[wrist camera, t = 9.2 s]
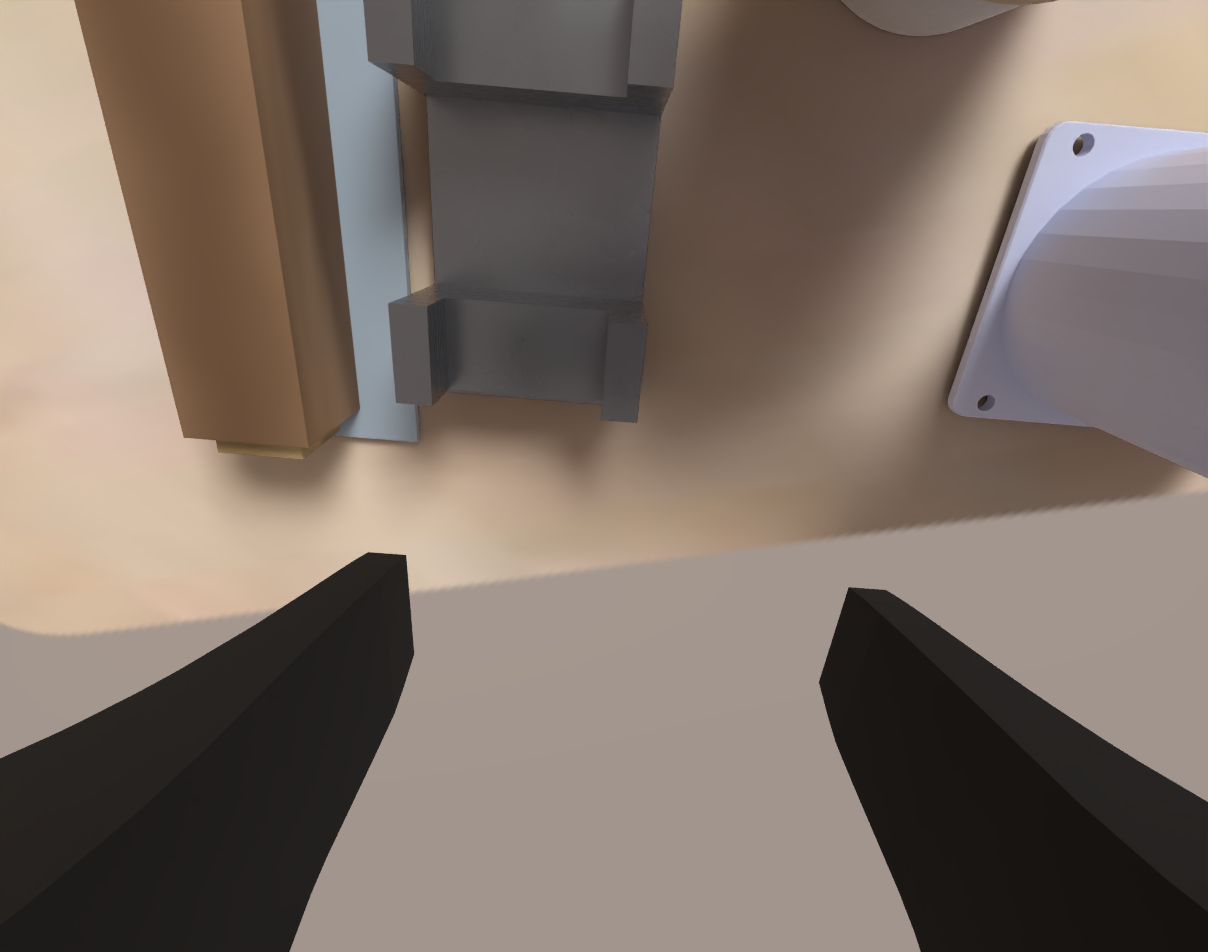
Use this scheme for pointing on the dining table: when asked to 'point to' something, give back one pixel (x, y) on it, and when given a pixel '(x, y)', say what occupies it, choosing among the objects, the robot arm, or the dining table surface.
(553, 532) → the dining table surface
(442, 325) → the stand
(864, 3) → the coffee cup
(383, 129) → the mat
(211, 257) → the rail
